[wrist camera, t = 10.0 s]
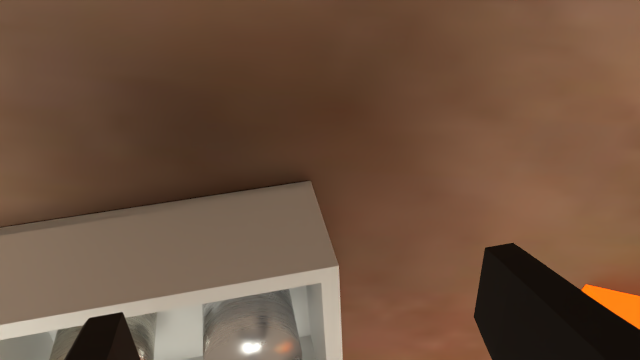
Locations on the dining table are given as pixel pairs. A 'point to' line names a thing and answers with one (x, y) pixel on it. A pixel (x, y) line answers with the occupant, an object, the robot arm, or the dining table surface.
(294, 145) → the dining table surface
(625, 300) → the orange juice
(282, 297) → the bushing
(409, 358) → the dining table surface
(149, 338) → the bushing
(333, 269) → the tub
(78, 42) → the dining table surface
